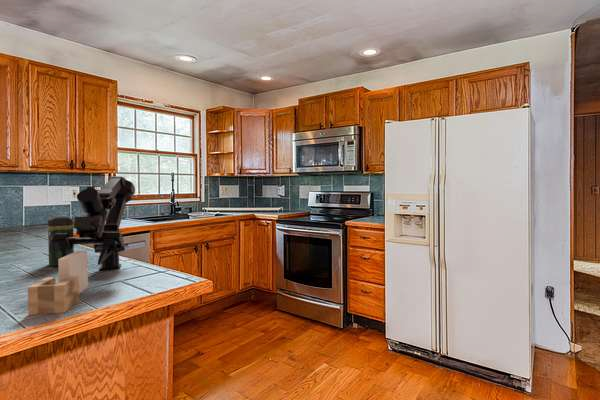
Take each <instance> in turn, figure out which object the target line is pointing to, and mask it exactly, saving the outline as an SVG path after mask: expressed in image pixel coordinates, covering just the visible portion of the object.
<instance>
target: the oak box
mask: <svg viewBox="0 0 600 400" xmlns="http://www.w3.org/2000/svg"><path fill="white" fill-rule="evenodd" d="M79 301H80V293H79V276H70V277H68V278H66V279H65V280H63V281H61V282H59V281H58V283H56V277H55V276H53V277H51V276H50V277H45V278H42V279H40V280H39V281H36V282H35V283H32V284H31V285H29V286H27V308H28V309H27V313H28V316H30V315H45V314H61V313H66V312H67V311H68V310H70V309H71V308H72V307H74V306H75V305H76V304H77V303H78V302H79Z"/></svg>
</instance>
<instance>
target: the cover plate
mask: <svg viewBox="0 0 600 400" xmlns="http://www.w3.org/2000/svg"><path fill="white" fill-rule="evenodd" d="M57 267H58V283H59V282H61V281H63V280H65V279H66V278H68V277H70V276H79V294H81V293H82V292H83V291H85V290H87V289H88V287H89V278H88V277H89V275H88V274H89V273H88V250H85V249H84V250H76V251H74V253H71V254H69V255H67V256H65V257H62V258H60V259H58V266H57Z"/></svg>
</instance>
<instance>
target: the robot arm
mask: <svg viewBox="0 0 600 400" xmlns="http://www.w3.org/2000/svg"><path fill="white" fill-rule="evenodd" d="M134 195H136V187H135V185H134V184H133V182H132V181H130V180H128V179H126V177H124V176H121V175H119V176H114V175H113V176H110V177H108V181H107V182H105V184H104V185H103V186H102V188H101V189H96V187H95V186H87V187H86V188H85V189H82V190H81V191H79V192H78V193H77V194H76V199H77V200H78V203H79V206H80V208H81V210H82V212H83V213H86V215H85V216H75V217H74V219H73V220H74V221H73V229H75V230H76V232H75V233H76V235H77V236H78V237H77V236H74V237H70V236H69V234H68V233H60V234H54V235H53V236H52V238H51V240H50V241H51V242H52V244H53V245H54V247H55V248H56V250H57V251H60V252H61V254H62V257H65V256H67V255H69V254H71V253H72V251H71V249H72V248H73V244H74V245H93V249H94V253H99V257H98V260H97V264H98V265H99V266H100V267H98V268H99V269H98V271H107V270H108V271H110V270H119V269H121V266H122V263H120V252H123V251H125V250H126V249H125V248H126V247H125V244H126V243H125V241H124V238H123V235H122V233H121V232H120V226H121V222H122V218H123V215H124V212H125V207H126V205H127V203H128V202H130V201H132V200H133V197H134ZM108 210H109V211H108Z"/></svg>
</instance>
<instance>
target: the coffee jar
mask: <svg viewBox="0 0 600 400" xmlns="http://www.w3.org/2000/svg"><path fill="white" fill-rule="evenodd" d="M73 220H74V219H73V218H71V217H69V216H66V215H54V216H52V217H51V218H49V219H47V234H48V235H47V236H48V265H50V266H51V267H59V266H58V259H60V258H62V254H61V252H60V251H57V250H56V248H55V247H54V245H53V244H52V242H51V241H50V240H51V238H52V236H53V235H54V234H60V233H68V234H69V236H70V237H75V236H74V234H75V233H74V232H75V231H74V228H73V225H74V221H73ZM74 247H75V244H73V248H72V249H71V251H72V253H74V252H75V248H74Z"/></svg>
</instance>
